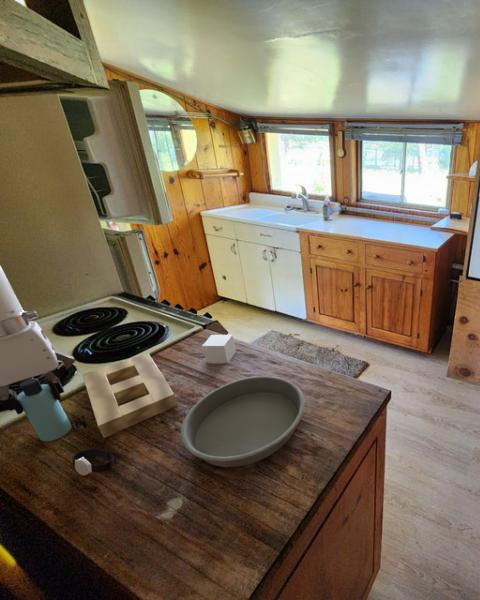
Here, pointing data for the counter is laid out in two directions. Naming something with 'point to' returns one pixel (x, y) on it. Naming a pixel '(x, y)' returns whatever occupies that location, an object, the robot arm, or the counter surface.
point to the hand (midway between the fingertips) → (39, 402)
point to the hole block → (127, 393)
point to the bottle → (43, 410)
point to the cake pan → (243, 421)
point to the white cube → (219, 348)
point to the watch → (85, 467)
